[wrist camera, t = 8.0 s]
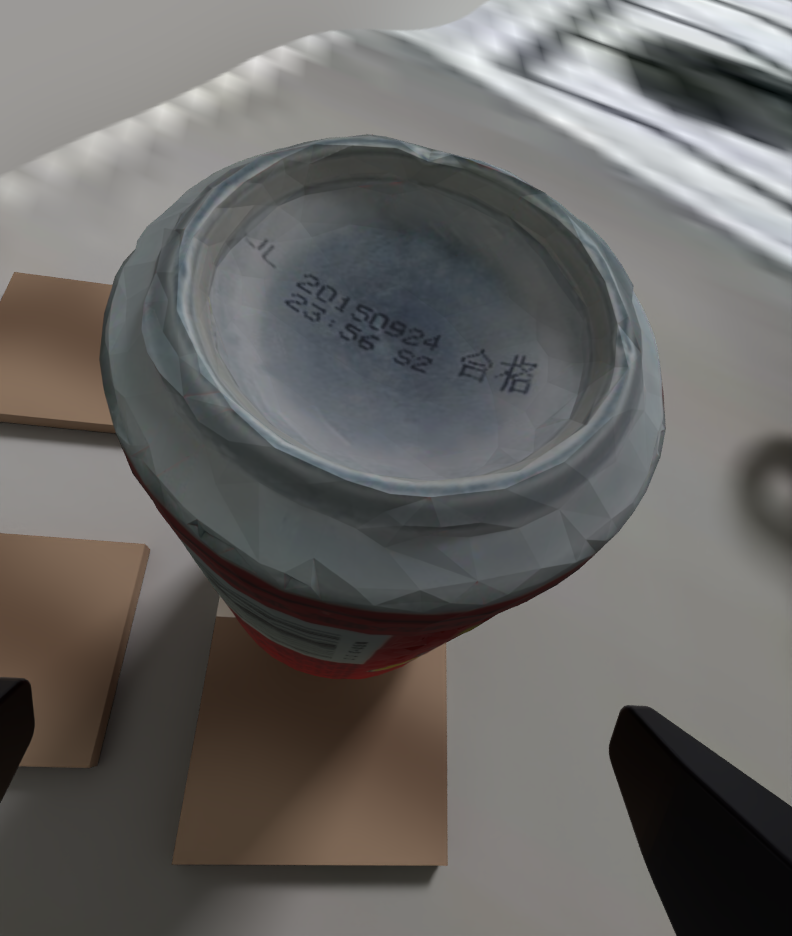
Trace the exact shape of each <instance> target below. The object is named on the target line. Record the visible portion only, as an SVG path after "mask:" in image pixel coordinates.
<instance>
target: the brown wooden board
mask: <svg viewBox="0 0 792 936" xmlns="http://www.w3.org/2000/svg"><path fill="white" fill-rule="evenodd" d="M172 865H437V866H448V856H447V703H446V643H445V644H443V645H441V646H439V647H437V648H435V649H433V650H431V651H430V652H428V653H426V654H424V655H422V656H420V657H418V658H416V659H415V660H413V661H411V662H409V663H407V664H406V665H404V666H403V667H400V668H397V669H394V670H392V671H389V672H386V673H383V674H381V675H378V676H373V677H369V678H364V679H330V678H324V677H319V676H314V675H311V674H307V673H304V672H301V671H297V670H295V669H293V668H291V667H290V666H288V665H286V664H284V663H282V662H280V661H279V660H277V659H275V658H273V657H272V656H270V655H269V654H268V653H267V652H266V651H264V650H263V649H262V648H261V647H260V646H259V645H258V644H257V643H256V642H255V641H254V640H253V639H252V638H251V636H250V635H249V634H248V633H247V632H246V631H245V629H244V628H243V627H242V625H241V624H240V623H239V622H238V620H237V619H236V617H235V616H234V614H233V613H232V611H231V610H230V609H229V607H228V606H227V605H226V603H225V602H224V600H223V599H222V598H221V596H220V598H219V603H218V609H217V614H216V620H215V626H214V631H213V637H212V642H211V648H210V653H209V659H208V665H207V670H206V676H205V681H204V687H203V692H202V698H201V704H200V709H199V715H198V720H197V726H196V731H195V737H194V743H193V748H192V754H191V759H190V765H189V770H188V776H187V782H186V787H185V793H184V798H183V804H182V809H181V815H180V821H179V826H178V832H177V837H176V843H175V848H174V854H173V860H172Z"/></svg>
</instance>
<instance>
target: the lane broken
mask: <svg viewBox="0 0 792 936" xmlns="http://www.w3.org/2000/svg"><path fill="white" fill-rule="evenodd" d="M111 289H112V285H108V284H101V283H93V282H86V281H78V280H71V279H63V278H55V277H48V276H40V275H33V274H25V273H18V272H14V274H13V276H12V278H11V280H10V282H9V284H8V286H7V289H6V291H5V293H4V295H3V297H2V299H1V301H0V422H7V423H17V424H27V425H37V426H47V427H57V428H67V429H77V430H88V431H98V432H108V433H116V432H115V429H114V426H113V423H112V419H111V415H110V412H109V408H108V404H107V401H106V397H105V393H104V389H103V382H102V375H101V369H100V362H99V356H100V346H101V337H102V327H103V318H104V312H105V308H106V305H107V302H108V299H109V295H110V292H111ZM149 553H150V549H149V548H148V547H147V546H146V545H145V544H136V543H123V542H110V541H97V540H83V539H70V538H57V537H44V536H30V535H17V534H4V533H0V677H14V678H25V679H27V680H28V681H29V682H30V684H31V688H32V698H33V708H34V718H35V729H34V734H33V737H32V740H31V742H30V744H29V746H28V748H27V750H26V752H25V754H24V756H23V758H22V760H21V763H20V765H19V766H28V767H69V768H91V767H95V766H97V765H98V761H99V756H100V752H101V748H102V744H103V740H104V736H105V732H106V728H107V724H108V720H109V716H110V712H111V708H112V704H113V700H114V696H115V691H116V687H117V683H118V679H119V675H120V671H121V667H122V663H123V659H124V655H125V651H126V647H127V643H128V639H129V635H130V630H131V626H132V622H133V618H134V614H135V610H136V606H137V602H138V598H139V594H140V590H141V586H142V582H143V578H144V574H145V569H146V565H147V561H148V557H149Z"/></svg>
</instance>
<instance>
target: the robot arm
mask: <svg viewBox="0 0 792 936" xmlns="http://www.w3.org/2000/svg"><path fill="white" fill-rule="evenodd" d="M34 729H35V718H34V708H33V698H32V688H31V684H30V682H29V681H28V680H27V679H25V678H14V677H0V803H1V801H2V799H3V797H4V795H5V793H6V791H7V789H8V787H9V785H10V783H11V781H12V779H13V777H14V775H15V773H16V771H17V769H18V767H19V765H20V763H21V760H22V758H23V756H24V754H25V752H26V750H27V748H28V746H29V744H30V742H31V740H32V737H33V734H34ZM609 756H610V761H611V764H612V767H613V770H614V773H615V776H616V779H617V782H618V785H619V788H620V791H621V794H622V797H623V800H624V803H625V806H626V809H627V812H628V815H629V817H630V820H631V823H632V826H633V829H634V832H635V835H636V838H637V841H638V844H639V847H640V850H641V853H642V855H643V858H644V861H645V863H646V866H647V868H648V871H649V873H650V876H651V878H652V880H653V883H654V885H655V887H656V890H657V892H658V894H659V897H660V899H661V901H662V904H663V906H664V908H665V910H666V913H667V915H668V917H669V920H670V922H671V924H672V927H673V929H674V931H675V933H676V936H792V807H791V806H790V805H789V804H787V803H786V802H784V801H783V800H781V799H780V798H779V797H777V796H776V795H774V794H773V793H771V792H770V791H769V790H767V789H766V788H764V787H763V786H762V785H760V784H759V783H757V782H756V781H754V780H753V779H752V778H750V777H749V776H747V775H746V774H745V773H743V772H742V771H740V770H739V769H737V768H736V767H735V766H733V765H732V764H730V763H729V762H727V761H726V760H725V759H723V758H722V757H720V756H719V755H718V754H716V753H715V752H713V751H712V750H710V749H709V748H708V747H706V746H705V745H703V744H702V743H701V742H699V741H698V740H696V739H695V738H693V737H692V736H691V735H689V734H688V733H686V732H685V731H683V730H682V729H681V728H679V727H678V726H676V725H675V724H674V723H672V722H671V721H669V720H668V719H666V718H665V717H664V716H662V715H661V714H659V713H658V712H657V711H655V710H654V709H652V708H650V707H647V706H634V705H627V706H624V707H623V708H622V709H621V710H620V713H619V716H618V719H617V722H616V725H615V728H614V731H613V734H612V737H611V740H610V744H609Z"/></svg>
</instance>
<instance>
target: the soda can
mask: <svg viewBox="0 0 792 936" xmlns="http://www.w3.org/2000/svg"><path fill="white" fill-rule="evenodd" d="M99 362H100V369H101V375H102V382H103V389H104V393H105V397H106V401H107V404H108V408H109V412H110V415H111V419H112V423H113V426H114V429H115V432H116V434H117V436H118V439H119V441H120V444H121V446H122V449H123V451H124V453H125V456H126V458H127V461H128V463H129V466H130V468H131V470H132V473H133V475H134V476H135V477H136V479H137V480H138V481H139V483H140V484H141V485H142V487H143V488H144V490H145V491H146V492H147V494H148V495H149V496H150V498H151V499H152V500H153V502H154V504H155V506H156V508H157V509H158V511H159V512H160V513H161V515H162V516H163V517H164V519H165V520H166V521H167V523H168V524H169V525H170V527H171V528H172V529H173V531H174V532H175V533H176V534H177V536H178V537H179V538H180V540H181V541H182V543H183V544H184V546H185V547H186V549H187V550H188V551H189V553H190V554H191V556H192V557H193V559H194V560H195V562H196V563H197V564H198V566H199V567H200V569H201V570H202V571H203V573H204V574H205V576H206V577H207V578H208V580H209V581H210V583H211V584H212V585H213V587H214V588H215V590H216V591H217V592H218V594H219V595H220V596H221V598H222V599H223V600H224V602H225V603H226V605H227V606H228V607H229V609H230V610H231V611H232V613H233V614H234V616H235V617H236V619H237V620H238V622H239V623H240V624H241V625H242V627H243V628H244V629H245V631H246V632H247V633H248V634H249V635H250V636H251V638H252V639H253V640H254V641H255V642H256V643H257V644H258V645H259V646H260V647H261V648H262V649H263V650H264V651H266V652H267V653H268V654H269V655H270V656H272V657H273V658H275V659H277V660H279V661H280V662H282V663H284V664H286V665H288V666H290V667H291V668H293V669H295V670H297V671H301V672H304V673H307V674H311V675H314V676H319V677H324V678H330V679H364V678H369V677H373V676H378V675H381V674H383V673H386V672H389V671H392V670H394V669H397V668H400V667H403V666H404V665H406V664H407V663H409V662H411V661H413V660H415V659H416V658H418V657H420V656H422V655H424V654H426V653H428V652H430V651H431V650H433V649H435V648H437V647H439V646H441V645H443V644H445V643H447V642H448V641H450V640H452V639H454V638H456V637H458V636H460V635H461V634H463V633H466V632H468V631H471V630H472V629H474V628H476V627H477V626H479V625H481V624H482V623H484V622H485V621H487V620H489V619H490V618H492V617H494V616H495V615H497V614H498V613H501V612H503V611H505V610H508V609H510V608H512V607H515V606H518V605H520V604H522V603H524V602H527V601H528V600H530V599H532V598H534V597H536V596H537V595H539V594H541V593H543V592H545V591H547V590H548V589H550V588H552V587H554V586H556V585H557V584H559V583H560V582H562V581H563V580H564V579H566V578H567V577H569V576H570V575H571V574H573V573H574V572H576V571H577V570H579V569H580V568H581V567H582V566H583V565H584V564H585V563H586V562H587V561H588V560H589V559H591V558H592V557H593V556H594V555H595V554H596V553H597V552H598V551H599V550H600V549H601V548H602V547H603V546H604V545H605V544H606V543H607V542H608V541H609V540H610V539H611V538H613V537H614V536H615V535H616V534H617V533H618V532H619V531H620V529H621V528H622V527H623V525H624V524H625V523H626V521H627V520H628V519H629V517H630V516H631V515H632V513H633V512H634V511H635V509H636V507H637V506H638V504H639V502H640V501H641V499H642V497H643V496H644V494H645V492H646V491H647V488H648V486H649V483H650V481H651V478H652V476H653V474H654V471H655V469H656V466H657V464H658V461H659V459H660V456H661V451H662V446H663V440H664V435H665V430H666V427H665V411H664V395H663V386H662V378H661V369H660V360H659V355H658V349H657V345H656V340H655V336H654V333H653V331H652V329H651V326H650V324H649V321H648V319H647V317H646V314H645V312H644V310H643V308H642V306H641V304H640V302H639V300H638V299H637V297H636V295H635V293H634V292H633V284H632V282H631V281H630V279H629V277H628V275H627V273H626V272H625V270H624V268H623V266H622V264H621V263H620V262H619V260H618V259H617V258H616V256H615V255H614V253H613V252H612V251H611V249H610V248H609V246H608V245H607V244H606V242H605V241H604V240H603V239H602V238H601V237H600V236H599V235H598V234H597V233H595V232H594V231H593V230H592V229H591V228H590V227H589V226H588V225H587V224H586V223H584V222H582V221H581V220H579V219H577V218H576V217H575V216H574V215H573V214H571V213H570V212H569V211H568V210H567V209H566V208H564V207H563V206H562V205H561V204H560V203H558V202H557V201H556V200H554V199H552V198H551V197H549V196H548V195H547V194H546V193H544V192H542V191H540V190H538V189H536V188H535V187H533V186H531V185H530V184H528V183H527V182H525V181H523V180H522V179H520V178H519V177H517V176H515V175H514V174H512V173H511V172H509V171H507V170H504V169H501V168H499V167H496V166H493V165H491V164H488V163H485V162H483V161H479V160H474V159H470V158H466V157H462V156H458V155H454V154H450V153H446V152H442V151H438V150H434V149H430V148H426V147H423V146H419V145H416V144H412V143H408V142H404V141H400V140H397V139H393V138H389V137H385V136H376V135H368V134H367V135H359V136H351V137H335V138H326V139H321V140H315V141H310V142H304V143H301V144H297V145H294V146H290V147H286V148H280V149H277V150H273V151H270V152H267V153H264V154H261V155H257V156H254V157H251V158H248V159H245V160H242V161H240V162H237V163H235V164H232V165H230V166H228V167H226V168H224V169H222V170H219V171H217V172H215V173H213V174H212V175H210V176H209V177H207V178H206V179H204V180H203V181H201V182H200V183H198V184H197V185H195V186H193V187H192V188H190V189H189V190H187V191H186V192H185V193H184V194H183V195H182V196H181V197H180V198H179V199H178V200H177V201H176V202H175V203H174V204H173V205H172V206H171V207H170V208H168V209H167V210H166V211H165V212H164V213H163V214H162V215H160V216H159V217H158V218H157V219H156V220H154V221H153V222H152V223H151V224H150V225H148V226H147V228H146V229H145V230H144V232H143V233H142V235H141V236H140V238H139V239H138V241H137V245H136V249H135V250H134V251H133V252H132V253H131V254H130V255H129V256H128V257H127V259H126V260H125V261H124V262H123V264H122V266H121V267H120V269H119V271H118V272H117V274H116V276H115V279H114V282H113V285H112V289H111V292H110V295H109V299H108V302H107V305H106V308H105V312H104V318H103V327H102V337H101V346H100V356H99Z"/></svg>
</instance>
